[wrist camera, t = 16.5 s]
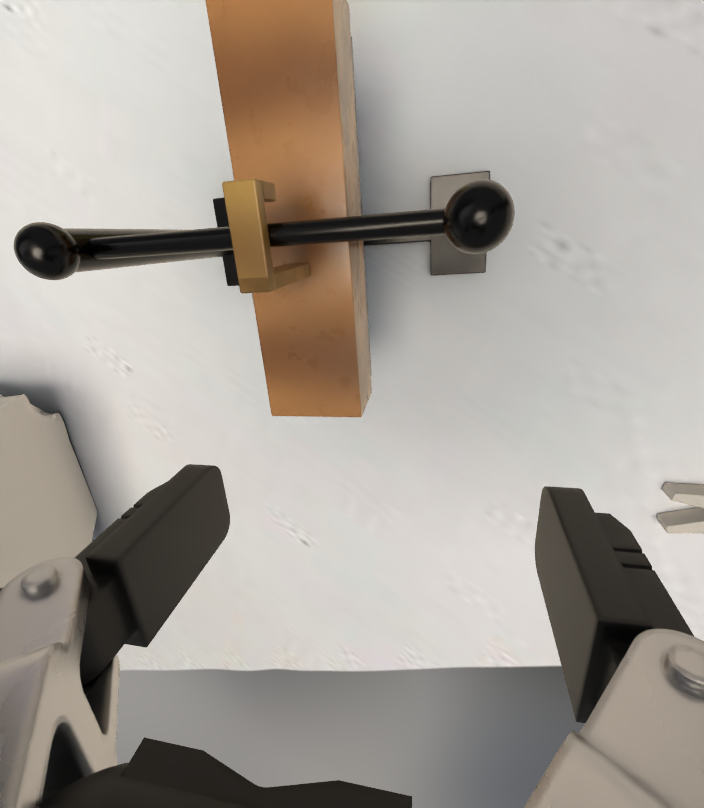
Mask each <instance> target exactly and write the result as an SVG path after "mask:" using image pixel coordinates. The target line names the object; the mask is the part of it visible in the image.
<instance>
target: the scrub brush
mask: <svg viewBox="0 0 704 808" xmlns="http://www.w3.org/2000/svg"><path fill="white" fill-rule="evenodd" d="M206 6H207V12H208V18H209V25H210V31H211V37H212V43H213V50H214V56H215V62H216V69H217V75H218V81H219V87H220V94H221V100H222V106H223V112H224V119H225V125H226V131H227V138H228V144H229V150H230V156H231V163H232V169H233V175H234V181H227V182H223V183H222V186H223V192H224V198H225V204H226V210H227V216H228V221H229V227H230V233H231V239H232V245H233V251H234V257H235V263H236V269H237V274H238V280H239V286H240V292H241V293H252V295H253V301H254V307H255V313H256V320H257V326H258V332H259V338H260V345H261V351H262V357H263V364H264V370H265V376H266V382H267V389H268V395H269V401H270V408H271V414H272V416H321V417H362V414H363V412H364V410H365V407H366V405H367V402H368V400H369V398H370V395H371V393H372V391H371V360H370V343H369V326H368V309H367V291H366V274H365V257H364V241H350V242H336V243H323V244H309V245H295V246H281V247H270V240H269V233H268V226H267V223H278V222H290V221H302V220H314V219H325V218H337V217H349V216H361V215H362V205H361V188H360V170H359V153H358V136H357V118H356V101H355V84H354V67H353V49H352V37H351V32H350V15H349V5H348V3H347V1H346V0H206Z"/></svg>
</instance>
